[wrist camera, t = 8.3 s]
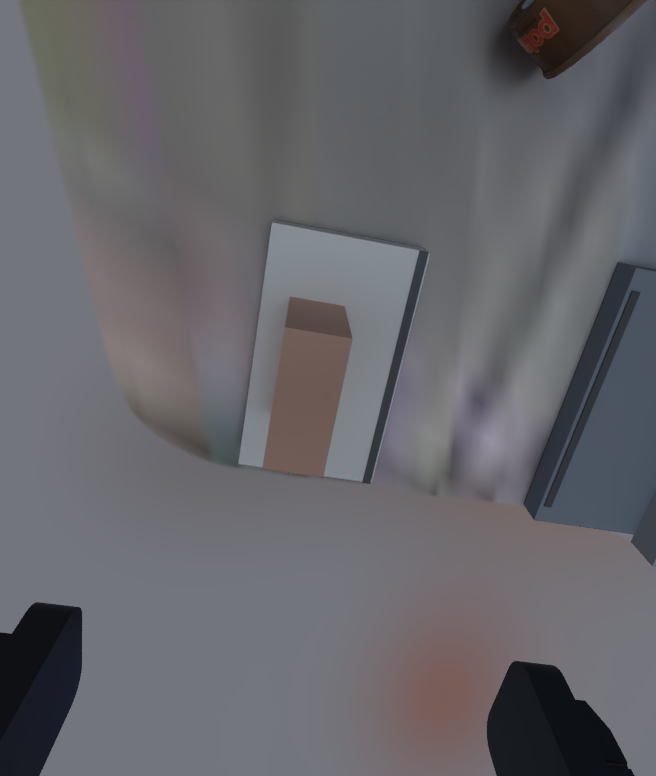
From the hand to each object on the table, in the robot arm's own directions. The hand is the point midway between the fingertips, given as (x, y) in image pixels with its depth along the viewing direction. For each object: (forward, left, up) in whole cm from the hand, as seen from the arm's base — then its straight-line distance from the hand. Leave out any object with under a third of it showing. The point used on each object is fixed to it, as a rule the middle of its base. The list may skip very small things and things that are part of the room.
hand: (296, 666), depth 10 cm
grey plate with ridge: (-19, 0, -18) cm, 26 cm away
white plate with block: (-1, 0, -18) cm, 18 cm away
